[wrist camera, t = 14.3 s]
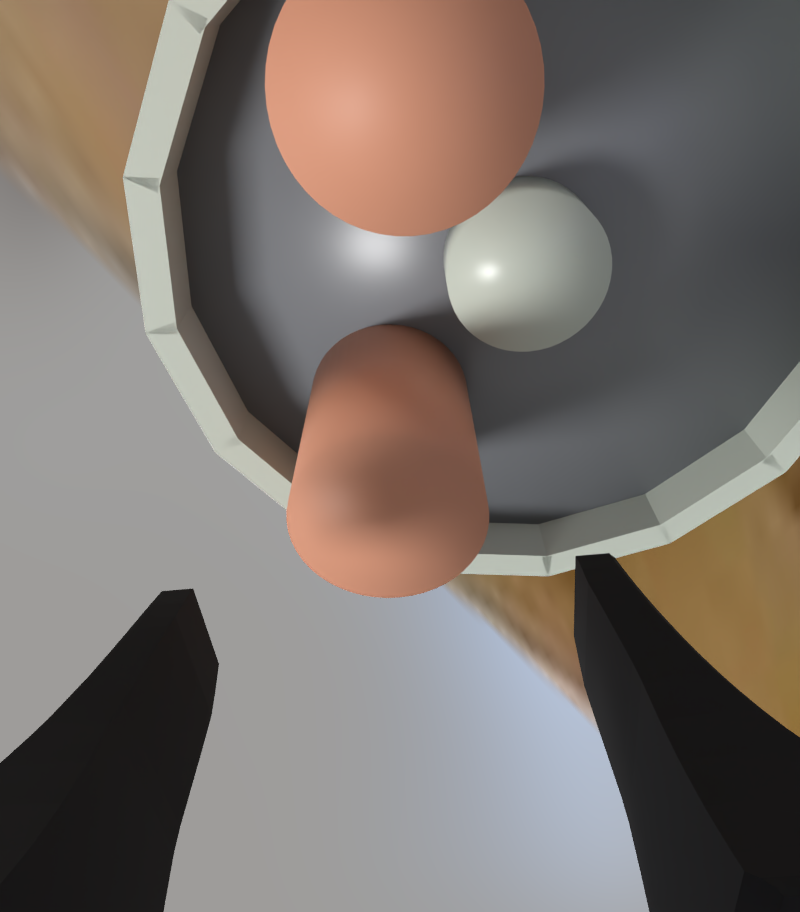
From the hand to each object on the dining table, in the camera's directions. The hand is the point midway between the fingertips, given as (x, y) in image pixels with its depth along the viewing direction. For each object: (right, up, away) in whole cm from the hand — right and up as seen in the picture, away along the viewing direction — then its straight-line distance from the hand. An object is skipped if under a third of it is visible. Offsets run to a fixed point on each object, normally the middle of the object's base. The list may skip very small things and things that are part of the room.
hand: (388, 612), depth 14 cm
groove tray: (+3, +8, +6) cm, 11 cm away
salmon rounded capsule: (0, +12, +3) cm, 12 cm away
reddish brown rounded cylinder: (0, +5, +8) cm, 9 cm away
